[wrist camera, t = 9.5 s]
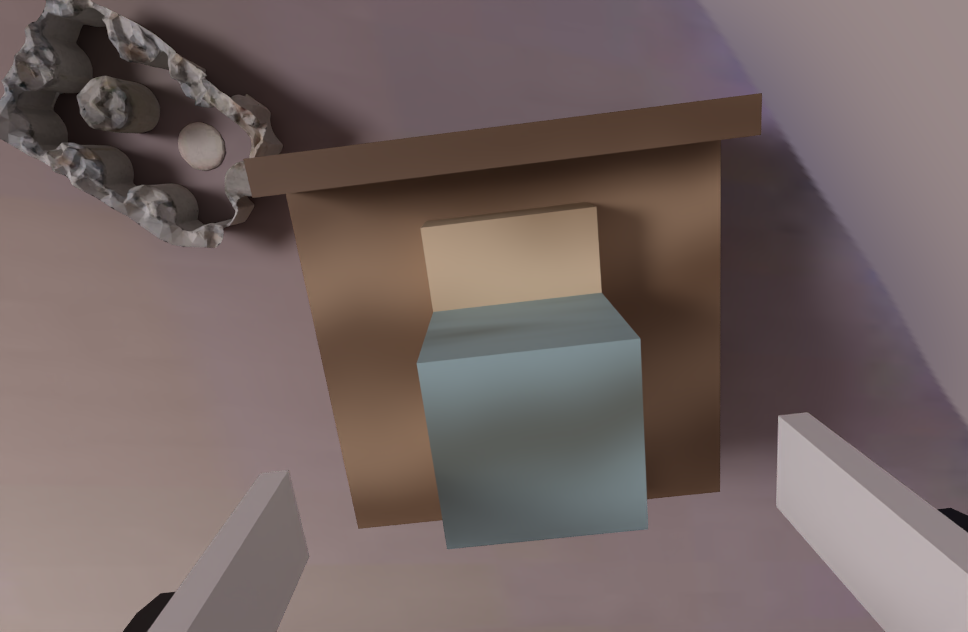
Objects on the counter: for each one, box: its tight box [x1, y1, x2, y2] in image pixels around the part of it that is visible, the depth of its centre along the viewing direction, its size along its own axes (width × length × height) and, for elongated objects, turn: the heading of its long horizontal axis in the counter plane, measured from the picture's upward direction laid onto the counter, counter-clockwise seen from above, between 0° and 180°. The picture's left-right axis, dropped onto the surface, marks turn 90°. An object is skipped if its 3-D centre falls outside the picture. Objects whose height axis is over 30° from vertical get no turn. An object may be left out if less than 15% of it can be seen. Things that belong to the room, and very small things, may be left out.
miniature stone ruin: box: [0, 0, 283, 248], centre depth 25 cm, size 11×8×4 cm
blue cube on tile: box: [417, 202, 648, 549], centre depth 19 cm, size 12×6×7 cm, turn 7°
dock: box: [243, 93, 762, 529], centre depth 24 cm, size 16×16×10 cm
